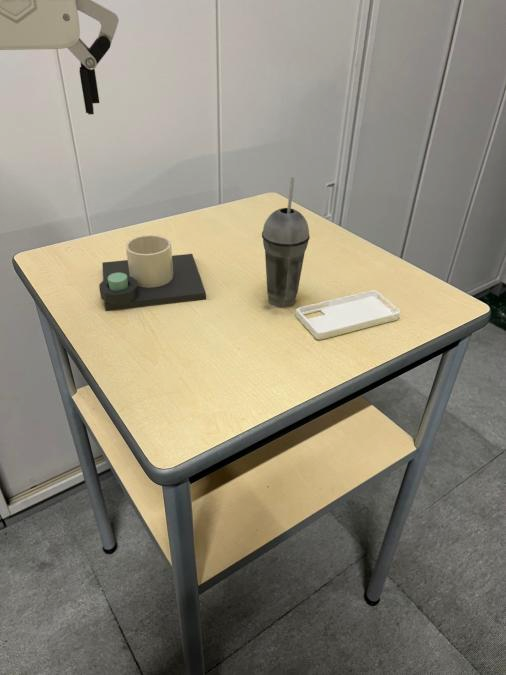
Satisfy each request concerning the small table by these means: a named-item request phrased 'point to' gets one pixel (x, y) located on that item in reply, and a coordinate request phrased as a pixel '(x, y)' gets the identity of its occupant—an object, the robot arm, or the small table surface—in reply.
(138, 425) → the small table surface
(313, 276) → the small table surface
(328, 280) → the small table surface
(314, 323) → the phone case
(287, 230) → the beverage cup
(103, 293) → the scale
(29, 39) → the robot arm
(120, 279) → the button
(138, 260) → the beige cup
